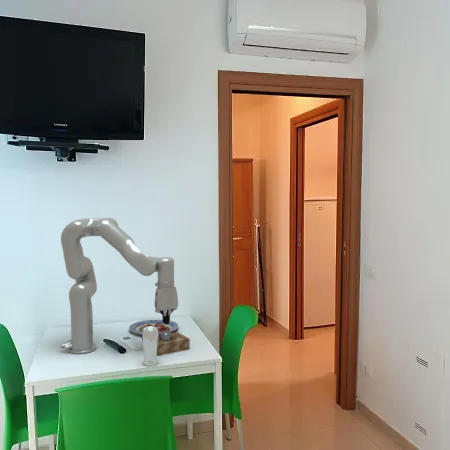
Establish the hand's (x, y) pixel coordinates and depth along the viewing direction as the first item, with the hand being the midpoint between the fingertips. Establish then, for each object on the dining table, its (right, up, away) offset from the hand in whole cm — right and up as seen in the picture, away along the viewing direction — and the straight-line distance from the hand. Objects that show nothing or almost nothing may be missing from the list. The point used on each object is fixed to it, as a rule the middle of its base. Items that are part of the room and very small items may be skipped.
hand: (166, 323), depth 208 cm
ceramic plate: (-10, -10, +30) cm, 33 cm away
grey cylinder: (0, -12, +1) cm, 12 cm away
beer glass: (-5, -13, -17) cm, 22 cm away
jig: (0, -12, +1) cm, 12 cm away
